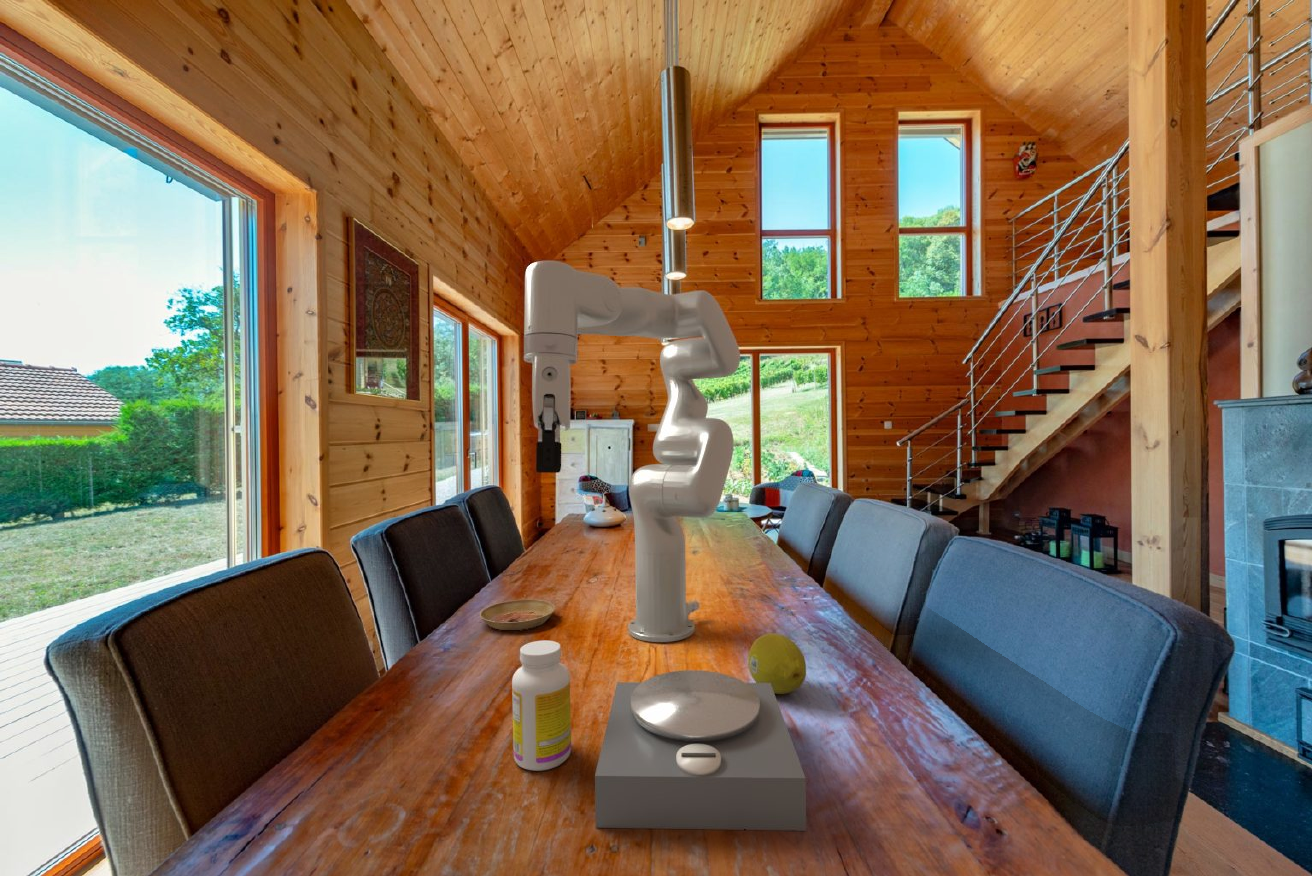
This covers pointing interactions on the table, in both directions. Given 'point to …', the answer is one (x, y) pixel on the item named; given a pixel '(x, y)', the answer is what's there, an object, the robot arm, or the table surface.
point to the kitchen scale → (699, 775)
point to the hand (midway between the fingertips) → (549, 471)
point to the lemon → (777, 663)
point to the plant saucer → (518, 606)
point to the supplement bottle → (541, 707)
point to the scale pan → (695, 705)
